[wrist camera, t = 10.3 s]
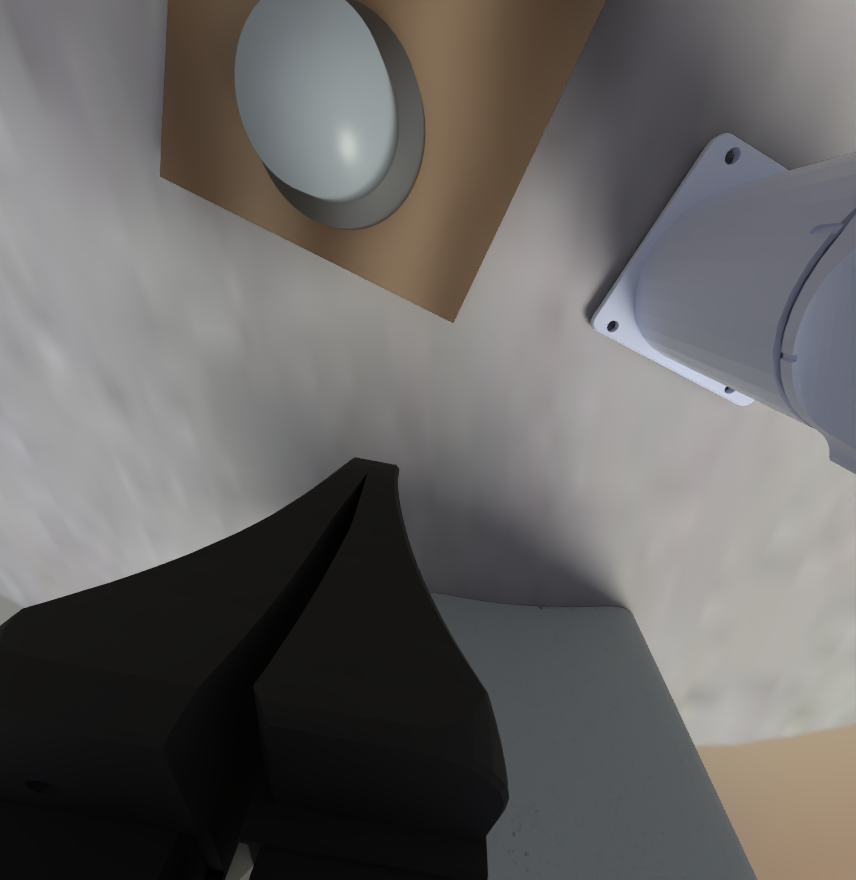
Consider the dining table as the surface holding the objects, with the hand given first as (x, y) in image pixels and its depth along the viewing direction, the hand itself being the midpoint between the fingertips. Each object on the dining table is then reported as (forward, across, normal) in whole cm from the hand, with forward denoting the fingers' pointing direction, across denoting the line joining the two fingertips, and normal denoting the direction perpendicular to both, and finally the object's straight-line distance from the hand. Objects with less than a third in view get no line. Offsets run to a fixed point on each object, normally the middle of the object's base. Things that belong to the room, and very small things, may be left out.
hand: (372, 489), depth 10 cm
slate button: (+8, +4, -10) cm, 13 cm away
